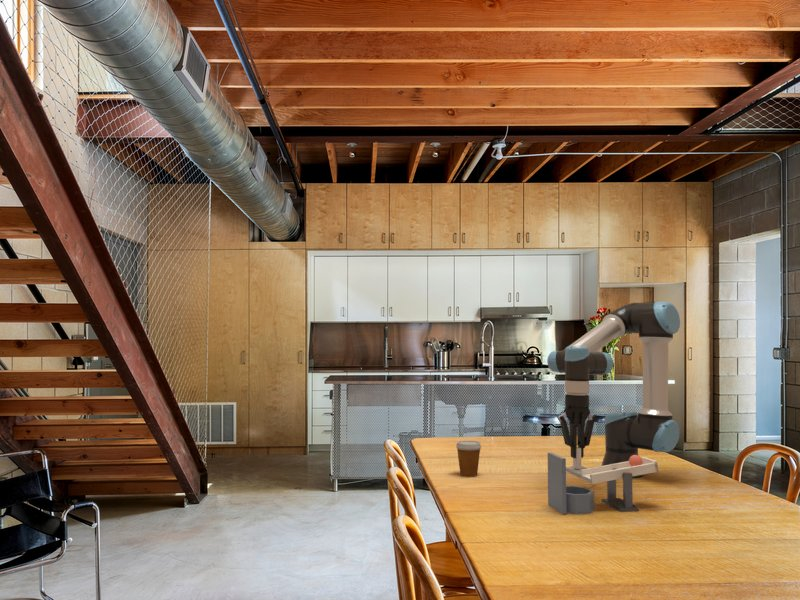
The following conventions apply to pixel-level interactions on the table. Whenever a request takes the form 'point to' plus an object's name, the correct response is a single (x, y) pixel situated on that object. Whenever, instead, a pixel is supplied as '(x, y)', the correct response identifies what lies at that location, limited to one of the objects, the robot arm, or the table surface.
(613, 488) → the trough stand
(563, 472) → the cup
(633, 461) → the rubber ball
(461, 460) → the disposable coffee cup
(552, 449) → the table surface
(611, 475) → the lever
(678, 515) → the table surface
